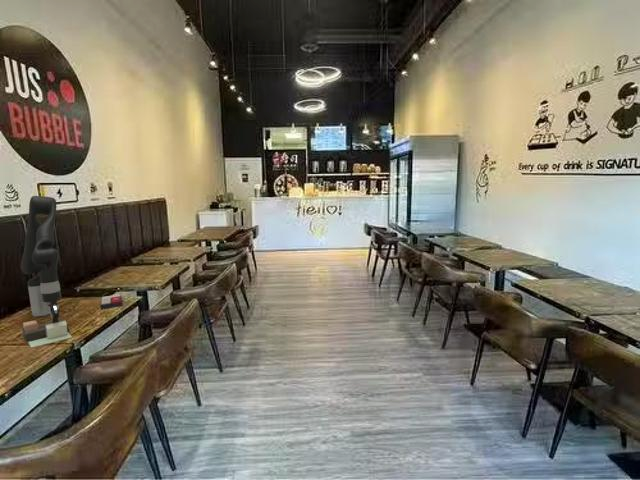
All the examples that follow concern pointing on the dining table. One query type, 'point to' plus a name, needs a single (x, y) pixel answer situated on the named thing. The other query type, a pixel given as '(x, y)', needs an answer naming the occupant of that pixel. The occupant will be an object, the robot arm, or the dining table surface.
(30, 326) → the salmon pink block
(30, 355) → the dining table surface
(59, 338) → the mat
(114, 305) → the red and white box
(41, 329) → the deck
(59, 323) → the cream tile
